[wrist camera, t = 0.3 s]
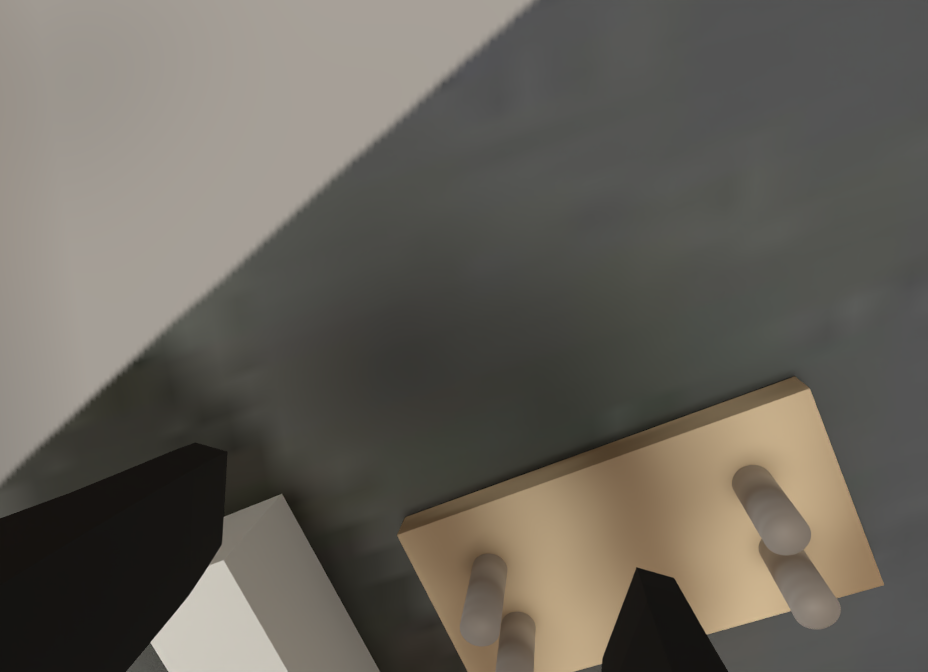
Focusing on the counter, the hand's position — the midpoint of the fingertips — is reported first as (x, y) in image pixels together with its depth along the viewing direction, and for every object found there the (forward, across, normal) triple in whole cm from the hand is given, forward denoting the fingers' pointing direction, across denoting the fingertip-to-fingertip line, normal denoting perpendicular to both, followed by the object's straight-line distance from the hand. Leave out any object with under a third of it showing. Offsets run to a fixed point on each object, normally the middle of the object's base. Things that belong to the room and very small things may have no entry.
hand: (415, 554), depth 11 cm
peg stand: (+10, -6, +6) cm, 13 cm away
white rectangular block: (+9, +4, +14) cm, 17 cm away
